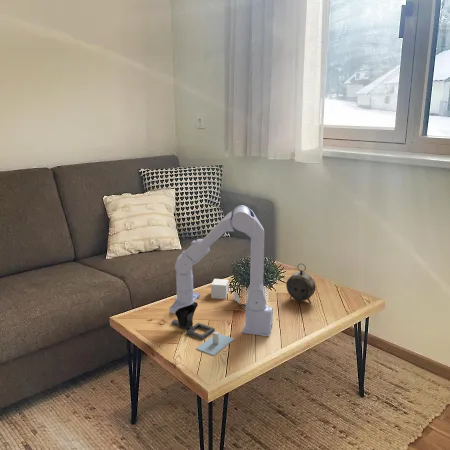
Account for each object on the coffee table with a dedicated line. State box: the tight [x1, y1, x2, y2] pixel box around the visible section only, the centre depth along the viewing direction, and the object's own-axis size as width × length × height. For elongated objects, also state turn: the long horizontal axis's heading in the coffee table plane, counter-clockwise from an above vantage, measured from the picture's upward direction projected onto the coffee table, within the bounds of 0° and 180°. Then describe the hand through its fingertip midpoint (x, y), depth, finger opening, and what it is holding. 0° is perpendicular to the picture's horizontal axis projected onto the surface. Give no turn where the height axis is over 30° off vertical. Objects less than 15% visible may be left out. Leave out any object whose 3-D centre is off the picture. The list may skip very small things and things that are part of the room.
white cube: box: [210, 278, 230, 300], centre depth 189 cm, size 6×6×6 cm
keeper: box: [195, 331, 235, 356], centre depth 153 cm, size 7×12×4 cm, turn 146°
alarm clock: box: [286, 263, 316, 304], centre depth 182 cm, size 11×5×16 cm, turn 58°
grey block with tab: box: [171, 311, 216, 341], centre depth 162 cm, size 16×7×6 cm, turn 56°
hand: (185, 323), depth 164 cm, fingers closed on grey block with tab, 3 cm apart
